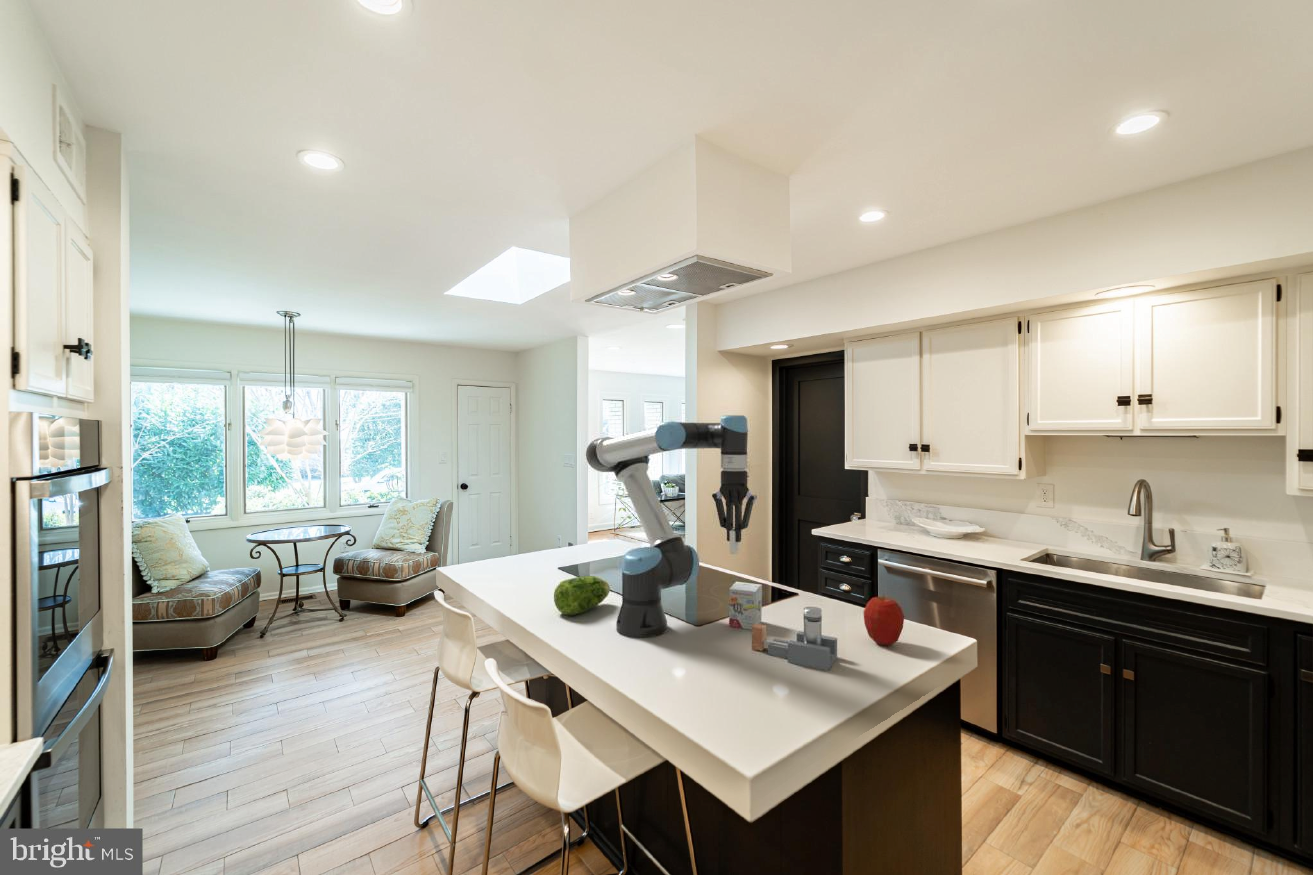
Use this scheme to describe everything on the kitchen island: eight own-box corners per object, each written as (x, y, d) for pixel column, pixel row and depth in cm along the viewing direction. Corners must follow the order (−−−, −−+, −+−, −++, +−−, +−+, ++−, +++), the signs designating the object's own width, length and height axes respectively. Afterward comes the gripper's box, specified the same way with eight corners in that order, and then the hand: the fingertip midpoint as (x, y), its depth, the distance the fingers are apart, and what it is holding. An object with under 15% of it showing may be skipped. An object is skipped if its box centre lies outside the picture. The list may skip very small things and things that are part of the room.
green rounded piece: (618, 605, 188) (618, 572, 188) (573, 621, 172) (573, 585, 172) (594, 599, 195) (594, 567, 195) (549, 614, 179) (549, 579, 179)
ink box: (728, 626, 168) (728, 587, 168) (735, 618, 176) (735, 580, 176) (756, 630, 164) (756, 590, 164) (762, 621, 172) (762, 583, 172)
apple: (860, 646, 152) (860, 595, 152) (867, 634, 161) (867, 586, 161) (901, 653, 147) (901, 601, 147) (906, 641, 155) (906, 591, 155)
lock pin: (751, 648, 149) (751, 626, 149) (755, 645, 152) (755, 623, 152) (799, 658, 143) (799, 635, 143) (802, 654, 145) (802, 631, 145)
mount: (765, 657, 144) (765, 638, 144) (777, 645, 152) (777, 627, 152) (827, 670, 136) (827, 650, 136) (837, 657, 144) (837, 637, 144)
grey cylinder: (801, 660, 142) (801, 610, 142) (806, 655, 146) (806, 605, 146) (819, 664, 140) (819, 612, 140) (823, 658, 143) (823, 608, 143)
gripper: (707, 469, 157) (707, 553, 157) (751, 471, 150) (751, 558, 150) (718, 468, 163) (718, 548, 163) (760, 469, 157) (760, 553, 157)
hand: (734, 553), depth 157 cm, fingers closed
